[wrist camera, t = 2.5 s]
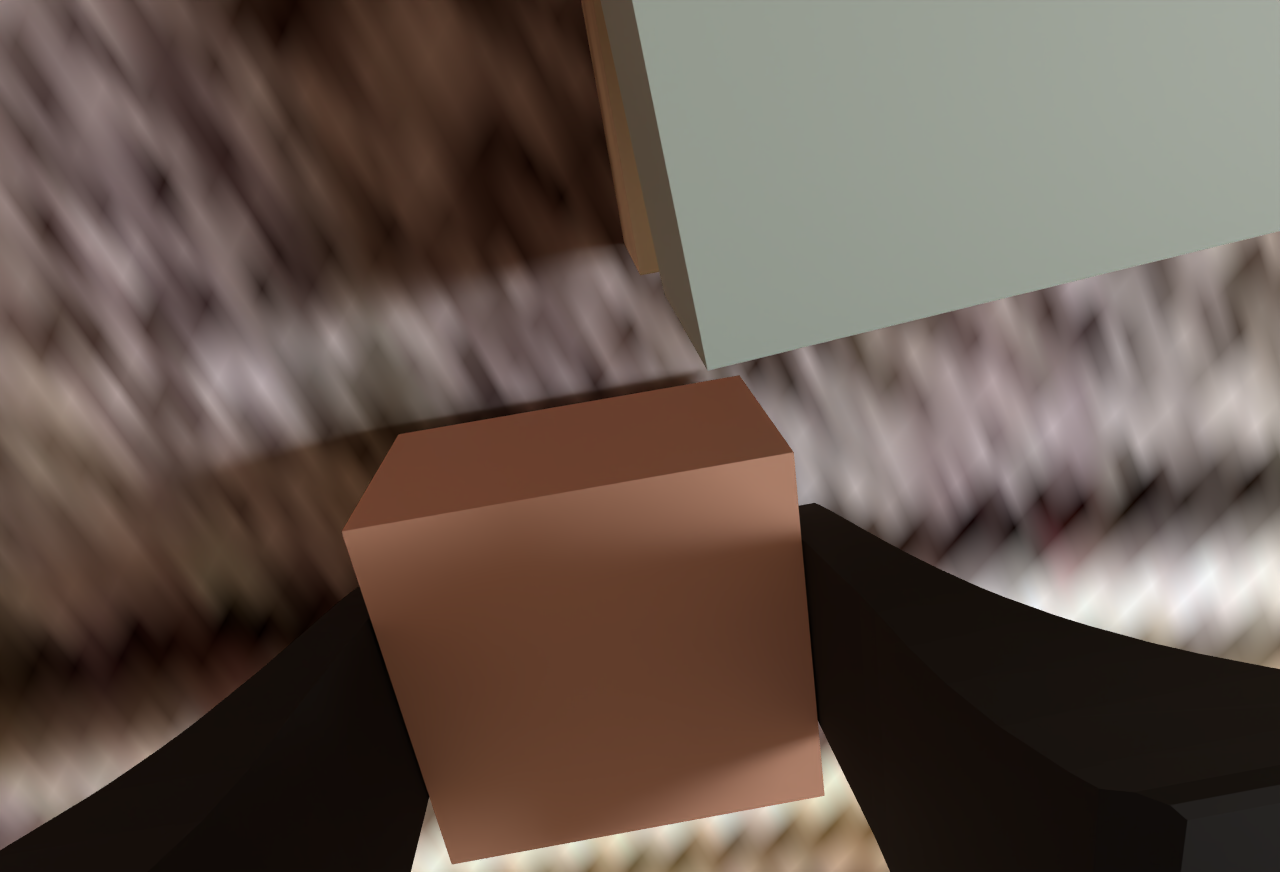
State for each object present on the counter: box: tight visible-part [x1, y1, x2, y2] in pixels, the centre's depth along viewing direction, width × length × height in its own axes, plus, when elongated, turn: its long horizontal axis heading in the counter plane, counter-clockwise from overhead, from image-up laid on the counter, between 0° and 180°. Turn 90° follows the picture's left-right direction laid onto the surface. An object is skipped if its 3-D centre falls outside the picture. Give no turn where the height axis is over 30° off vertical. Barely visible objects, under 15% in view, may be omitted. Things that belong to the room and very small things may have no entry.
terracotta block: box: [341, 376, 824, 864], centre depth 11 cm, size 5×5×3 cm
